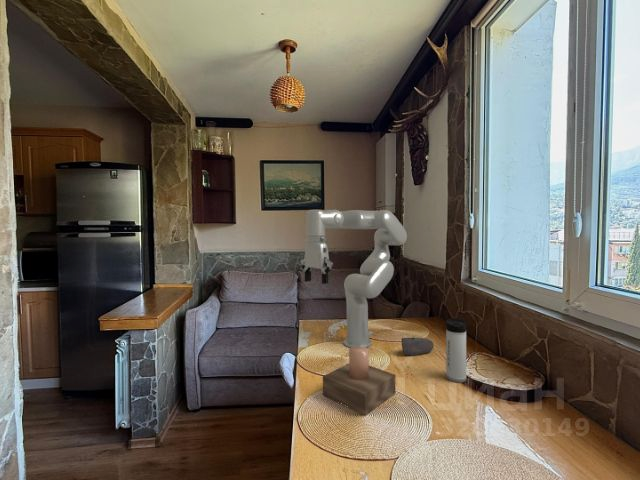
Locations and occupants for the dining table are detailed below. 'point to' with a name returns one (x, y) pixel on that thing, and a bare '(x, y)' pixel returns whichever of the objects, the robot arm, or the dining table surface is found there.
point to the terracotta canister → (359, 363)
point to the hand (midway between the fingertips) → (316, 282)
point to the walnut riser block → (359, 388)
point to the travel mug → (456, 350)
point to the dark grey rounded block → (416, 346)
